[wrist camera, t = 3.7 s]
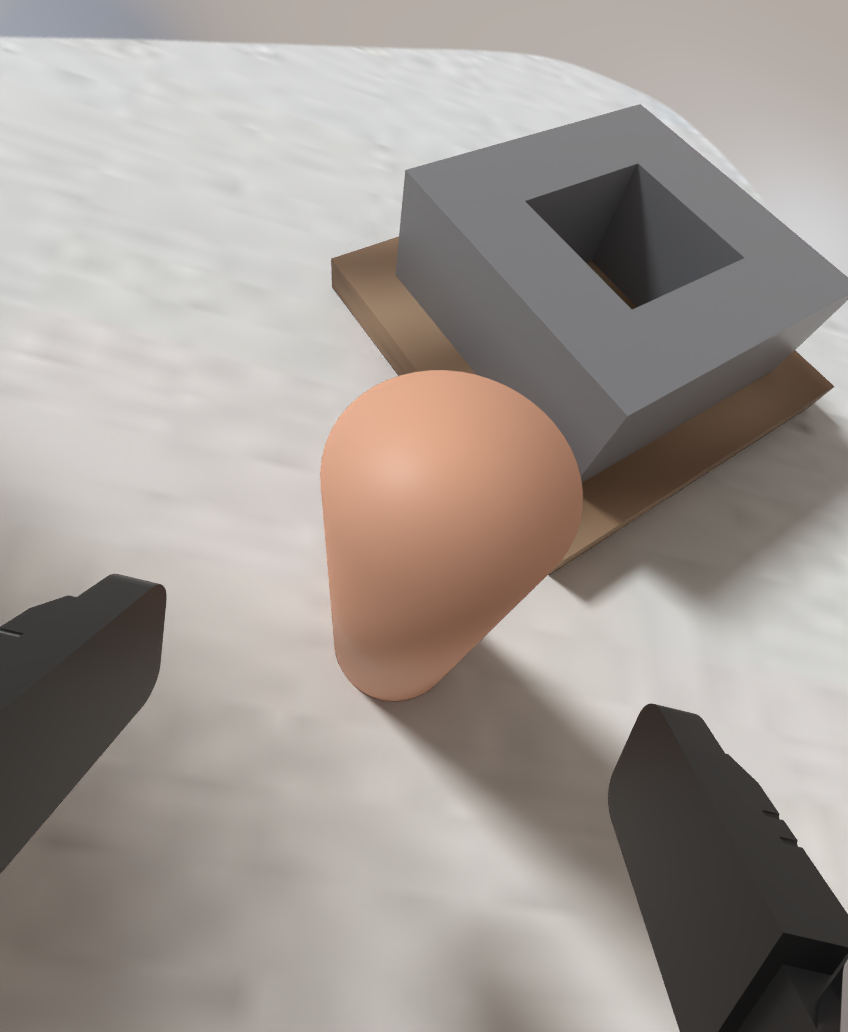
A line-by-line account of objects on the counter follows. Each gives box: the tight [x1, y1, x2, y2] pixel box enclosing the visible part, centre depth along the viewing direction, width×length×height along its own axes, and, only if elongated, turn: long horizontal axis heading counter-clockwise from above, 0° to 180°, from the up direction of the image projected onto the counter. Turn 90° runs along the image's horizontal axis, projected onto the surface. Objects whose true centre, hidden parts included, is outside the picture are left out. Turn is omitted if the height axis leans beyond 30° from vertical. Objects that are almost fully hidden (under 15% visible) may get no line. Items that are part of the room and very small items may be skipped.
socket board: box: [331, 237, 834, 575], centre depth 24 cm, size 16×16×2 cm
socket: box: [396, 104, 848, 483], centre depth 21 cm, size 12×12×4 cm
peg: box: [320, 370, 583, 701], centre depth 13 cm, size 4×4×11 cm
